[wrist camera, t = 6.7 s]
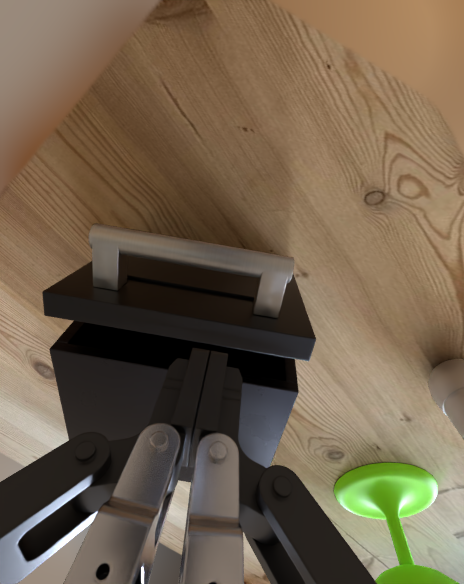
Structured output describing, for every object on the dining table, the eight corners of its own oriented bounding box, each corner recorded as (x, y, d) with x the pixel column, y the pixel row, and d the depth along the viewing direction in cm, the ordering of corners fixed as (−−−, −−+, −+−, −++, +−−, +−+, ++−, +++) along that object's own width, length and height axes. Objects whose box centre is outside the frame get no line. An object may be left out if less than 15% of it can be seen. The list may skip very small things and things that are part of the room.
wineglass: (325, 508, 56) (348, 662, 40) (345, 457, 47) (384, 627, 32) (417, 519, 55) (476, 680, 40) (454, 468, 47) (547, 648, 31)
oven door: (134, 196, 30) (35, 225, 16) (298, 225, 30) (335, 277, 16) (132, 250, 32) (43, 315, 18) (286, 277, 32) (309, 361, 19)
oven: (133, 251, 32) (48, 349, 20) (285, 278, 32) (299, 392, 20) (135, 345, 39) (73, 462, 26) (260, 367, 39) (259, 494, 27)
